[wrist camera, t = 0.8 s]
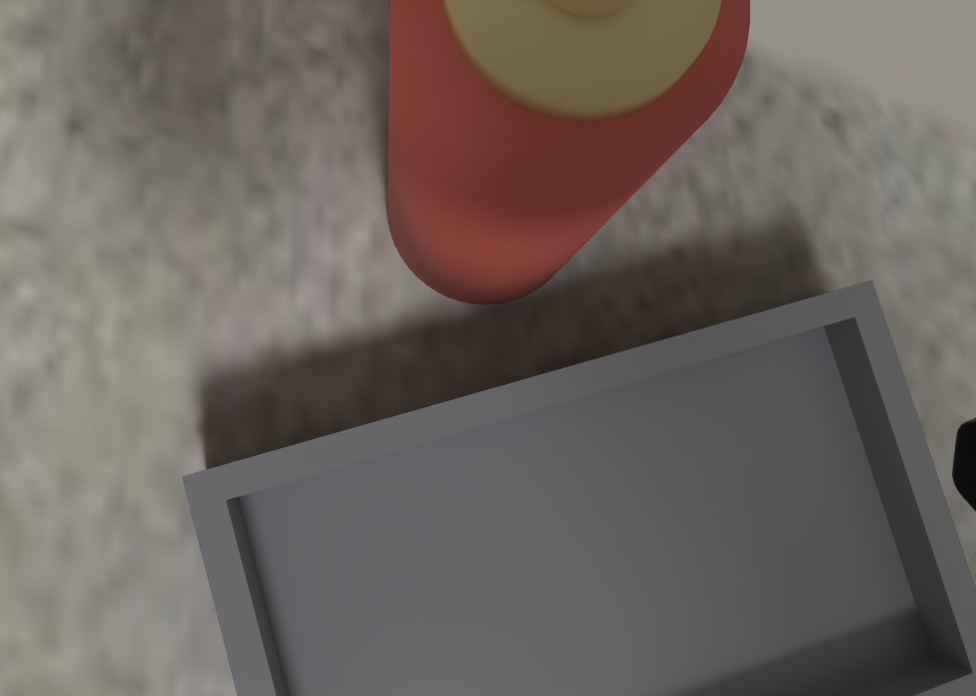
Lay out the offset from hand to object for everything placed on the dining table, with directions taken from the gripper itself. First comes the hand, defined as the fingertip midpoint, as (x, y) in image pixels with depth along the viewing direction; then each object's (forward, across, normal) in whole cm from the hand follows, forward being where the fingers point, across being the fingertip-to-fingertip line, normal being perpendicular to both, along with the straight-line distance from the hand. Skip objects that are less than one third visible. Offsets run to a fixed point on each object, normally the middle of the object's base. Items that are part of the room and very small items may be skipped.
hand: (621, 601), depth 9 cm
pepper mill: (+15, -3, +1) cm, 15 cm away
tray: (+9, -2, +10) cm, 13 cm away
